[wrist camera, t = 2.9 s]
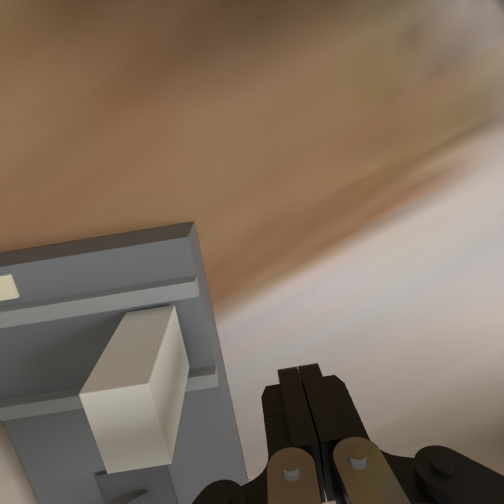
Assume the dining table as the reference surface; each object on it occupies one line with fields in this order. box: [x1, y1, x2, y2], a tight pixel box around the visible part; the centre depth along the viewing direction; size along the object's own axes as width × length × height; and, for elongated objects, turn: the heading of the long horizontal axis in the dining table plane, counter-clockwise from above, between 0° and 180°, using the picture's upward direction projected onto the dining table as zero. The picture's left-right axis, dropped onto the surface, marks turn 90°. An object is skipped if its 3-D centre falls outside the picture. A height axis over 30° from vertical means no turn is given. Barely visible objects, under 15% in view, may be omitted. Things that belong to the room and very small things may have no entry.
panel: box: [0, 222, 248, 504], centre depth 24 cm, size 12×30×4 cm, turn 9°
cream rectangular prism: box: [79, 305, 189, 474], centre depth 16 cm, size 2×4×6 cm, turn 9°
